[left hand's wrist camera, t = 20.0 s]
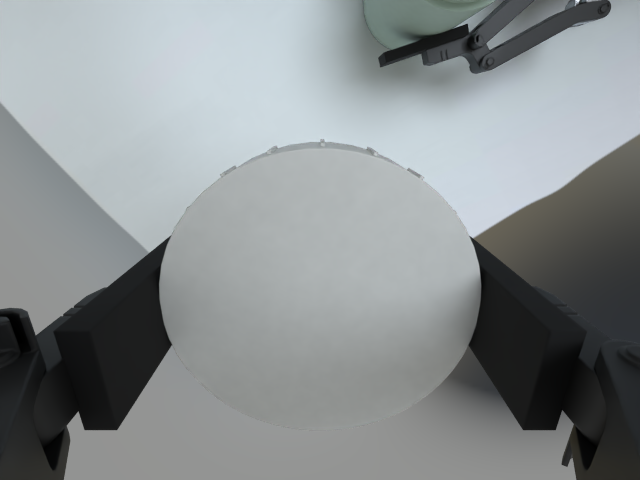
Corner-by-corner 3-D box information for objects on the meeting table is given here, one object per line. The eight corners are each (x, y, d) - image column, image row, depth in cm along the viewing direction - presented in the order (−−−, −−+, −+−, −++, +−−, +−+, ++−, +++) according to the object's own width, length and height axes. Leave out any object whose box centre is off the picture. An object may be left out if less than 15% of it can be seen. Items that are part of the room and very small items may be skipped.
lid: (470, 129, 10) (504, 133, 8) (448, 383, 14) (469, 426, 12) (155, 149, 10) (118, 157, 9) (209, 394, 14) (192, 438, 12)
